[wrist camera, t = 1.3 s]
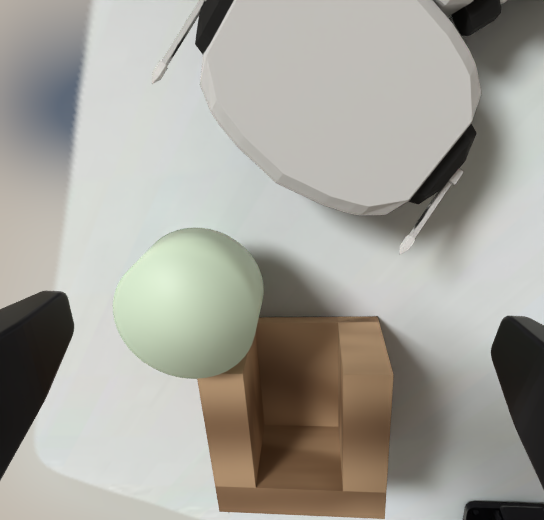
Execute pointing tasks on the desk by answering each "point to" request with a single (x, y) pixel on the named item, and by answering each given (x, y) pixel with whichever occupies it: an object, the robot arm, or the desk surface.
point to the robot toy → (345, 94)
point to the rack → (303, 420)
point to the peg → (190, 304)
